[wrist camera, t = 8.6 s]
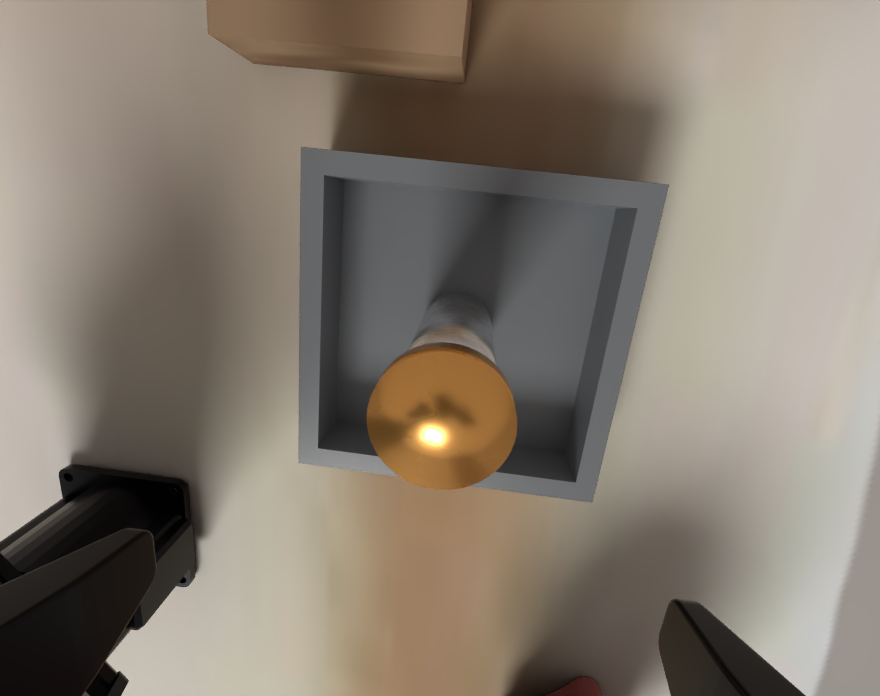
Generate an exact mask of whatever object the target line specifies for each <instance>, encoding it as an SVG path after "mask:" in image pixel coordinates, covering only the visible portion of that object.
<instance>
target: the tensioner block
mask: <svg viewBox="0 0 880 696" xmlns="http://www.w3.org/2000/svg"><path fill="white" fill-rule="evenodd" d="M472 5H473V0H207V21H208V34H210V35H211V36H213V37H214V38H216V39H217V40H219V41H220V42H222V43H223V44H225V45H226V46H228V47H229V48H231V49H232V50H234V51H235V52H237V53H239V54H240V55H242V56H243V57H245V58H246V59H248V60H249V61H251V62H252V63H255V64H266V65H276V66H287V67H298V68H308V69H319V70H329V71H340V72H350V73H361V74H371V75H382V76H392V77H403V78H413V79H424V80H434V81H445V82H456V83H464V82H465V72H466V63H467V53H468V44H469V34H470V24H471V15H472Z"/></svg>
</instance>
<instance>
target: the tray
mask: <svg viewBox="0 0 880 696" xmlns="http://www.w3.org/2000/svg"><path fill="white" fill-rule="evenodd" d="M668 187H669V185H667V184H657V183H648V182H638V181H628V180H618V179H609V178H599V177H589V176H579V175H570V174H560V173H550V172H541V171H531V170H521V169H511V168H502V167H492V166H482V165H473V164H463V163H453V162H443V161H434V160H424V159H414V158H405V157H395V156H385V155H375V154H366V153H356V152H346V151H336V150H327V149H317V148H307V147H301V198H300V329H299V460H298V463H303V464H310V465H318V466H325V467H332V468H340V469H347V470H355V471H362V472H370V473H377V474H384V475H392V476H398V475H397V474H396V473H394V472H393V471H392V470H391V469H390V468H389V467H387V466H386V465H385V464H384V462H383V461H382V460H381V459H380V457H379V456H378V454H377V453H376V451H375V450H374V447H373V445H372V443H371V441H370V437H369V434H368V429H367V408H368V404H369V400H370V397H371V395H372V393H373V390H374V388H375V387H376V385H377V383H378V381H379V380H380V378H381V376H382V375H383V373H384V371H385V370H386V368H387V367H388V366H389V365H390V364H391V363H392V362H393V361H394V360H395V359H396V358H397V357H399V356H400V355H401V354H403V353H404V352H406V351H408V349H409V347H410V345H411V343H412V341H413V338H414V336H415V334H416V332H417V330H418V328H419V326H420V324H421V322H422V320H423V318H424V316H425V314H426V311H427V309H428V308H429V306H430V305H431V303H432V302H433V301H434V300H435V299H436V298H438V297H439V296H441V295H443V294H445V293H448V292H453V291H462V292H467V293H470V294H472V295H474V296H476V297H477V298H479V299H480V300H481V301H482V302H483V303H484V304H485V306H486V307H487V309H488V311H489V313H490V317H491V323H492V331H493V339H494V347H495V355H496V363H497V366H498V368H499V369H500V370H501V371H502V373H503V374H504V375H505V377H506V379H507V381H508V383H509V385H510V388H511V390H512V394H513V399H514V404H515V409H516V414H517V434H516V438H515V442H514V445H513V448H512V450H511V452H510V454H509V456H508V457H507V459H506V460H505V462H504V463H503V464H502V465H501V466H500V467H499V468H498V469H497V470H496V471H495V472H494V473H493V474H491V475H490V476H489V477H487V478H486V479H484V480H482V481H480V482H478V483H476V484H473V485H471V486H473V487H481V488H488V489H496V490H503V491H511V492H518V493H525V494H533V495H540V496H548V497H555V498H562V499H570V500H577V501H585V502H592V501H593V497H594V493H595V489H596V485H597V481H598V476H599V472H600V468H601V464H602V460H603V456H604V452H605V447H606V443H607V439H608V435H609V431H610V427H611V423H612V419H613V414H614V410H615V406H616V402H617V398H618V394H619V390H620V385H621V381H622V377H623V373H624V369H625V365H626V361H627V356H628V352H629V348H630V344H631V340H632V336H633V332H634V327H635V323H636V319H637V315H638V311H639V307H640V303H641V299H642V294H643V290H644V286H645V282H646V278H647V274H648V270H649V265H650V261H651V257H652V253H653V249H654V245H655V241H656V236H657V232H658V228H659V224H660V220H661V216H662V212H663V207H664V203H665V199H666V195H667V191H668ZM399 477H400V476H399Z"/></svg>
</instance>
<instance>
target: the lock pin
mask: <svg viewBox="0 0 880 696" xmlns="http://www.w3.org/2000/svg"><path fill="white" fill-rule="evenodd" d="M367 429H368V434H369V437H370V441H371V443H372V445H373V447H374V450H375V451H376V453H377V454H378V456H379V457H380V459H381V460H382V461H383V462H384V464H385V465H386V466H387V467H389V468H390V469H391V470H392V471H393V472H394V473H396V474H397V475H398V476H400V477H402V478H403V479H405V480H407V481H409V482H411V483H413V484H416V485H419V486H422V487H426V488H431V489H440V490H449V489H458V488H464V487H467V486H471V485H473V484H476V483H478V482H480V481H482V480H484V479H486V478H487V477H489V476H490V475H491V474H493V473H494V472H495V471H496V470H497V469H498V468H499V467H500V466H501V465H502V464H503V463H504V462H505V460H506V459H507V457H508V456H509V454H510V452H511V450H512V448H513V445H514V442H515V438H516V434H517V414H516V409H515V404H514V399H513V394H512V390H511V388H510V385H509V383H508V381H507V379H506V377H505V375H504V374H503V373H502V371H501V370H500V369H499V368H498V366H497V363H496V355H495V347H494V339H493V331H492V323H491V317H490V313H489V311H488V309H487V307H486V306H485V304H484V303H483V302H482V301H481V300H480V299H479V298H477V297H476V296H474V295H472V294H470V293H467V292H462V291H453V292H448V293H445V294H443V295H441V296H439V297H438V298H436V299H435V300H434V301H433V302H432V303H431V305H430V306H429V308H428V309H427V311H426V314H425V316H424V318H423V320H422V322H421V324H420V326H419V328H418V330H417V332H416V334H415V336H414V338H413V341H412V343H411V345H410V347H409V349H408V351H406V352H404V353H403V354H401V355H400V356H399V357H397V358H396V359H395V360H394V361H393V362H392V363H391V364H390V365H389V366H388V367H387V368H386V370H385V371H384V373H383V375H382V376H381V378H380V380H379V381H378V383H377V385H376V387H375V388H374V390H373V393H372V395H371V397H370V400H369V404H368V408H367Z"/></svg>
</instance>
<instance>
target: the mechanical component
mask: <svg viewBox="0 0 880 696" xmlns="http://www.w3.org/2000/svg"><path fill="white" fill-rule="evenodd" d="M544 696H602V694H601V690H600V686H599V684H598V683H597V682H596V681H595V680H593V679H591V678H588V677H579V678H577V679H575V680H573V681H572V682H571V683H569V684H568V685H566V686H565V687H563V688H561V689H559V690H557V691H555V692H552V693H550V694H547V695H544Z"/></svg>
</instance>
